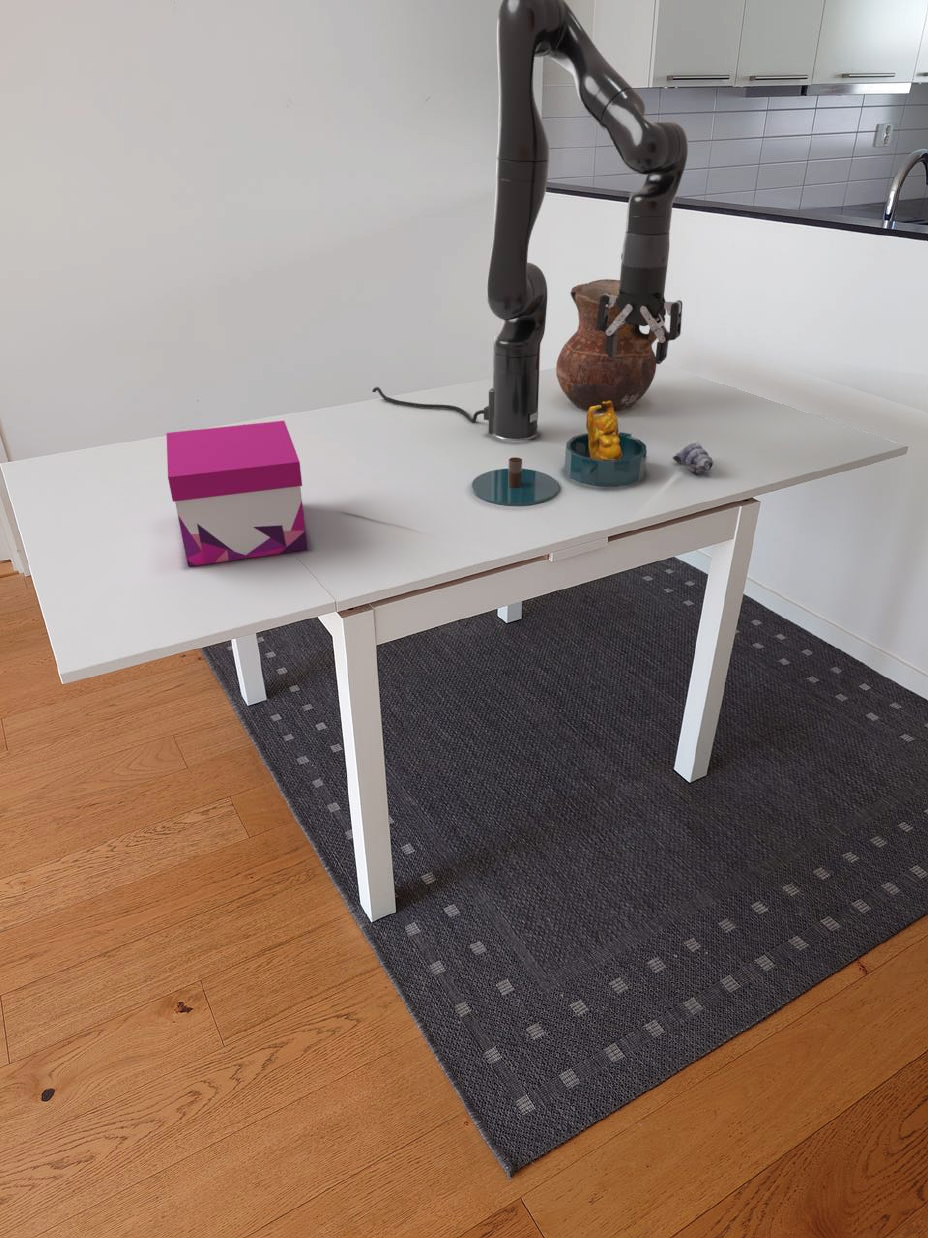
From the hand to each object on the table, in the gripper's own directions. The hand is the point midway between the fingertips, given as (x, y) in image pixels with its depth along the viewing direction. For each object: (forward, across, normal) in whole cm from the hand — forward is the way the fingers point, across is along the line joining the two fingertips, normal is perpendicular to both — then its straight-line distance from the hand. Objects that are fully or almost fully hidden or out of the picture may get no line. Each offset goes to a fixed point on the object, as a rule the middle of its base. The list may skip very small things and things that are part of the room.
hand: (634, 359), depth 154 cm
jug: (+22, +18, -37) cm, 46 cm away
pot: (+21, +3, +2) cm, 22 cm away
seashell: (+21, -11, -8) cm, 25 cm away
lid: (+21, +15, +16) cm, 30 cm away
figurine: (+21, +3, +2) cm, 21 cm away
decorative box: (+22, +47, +53) cm, 74 cm away
